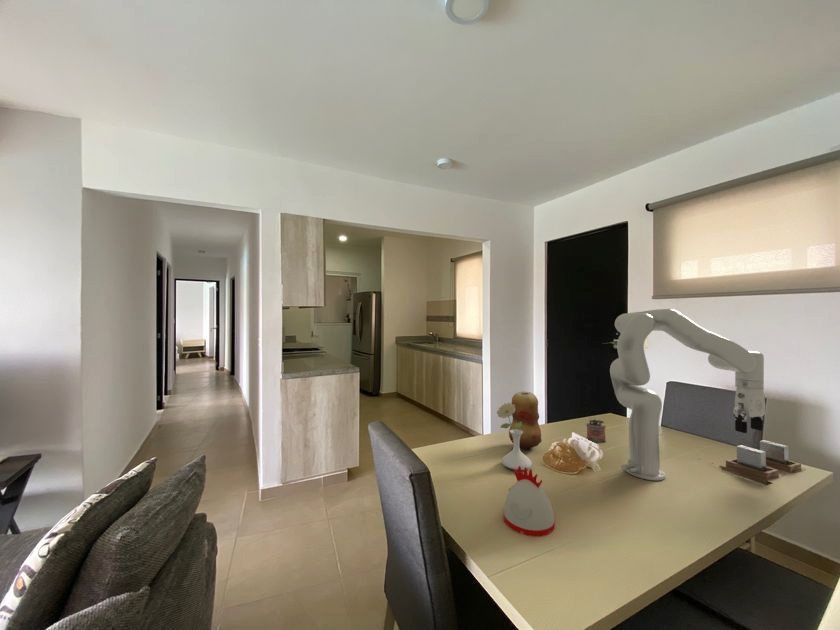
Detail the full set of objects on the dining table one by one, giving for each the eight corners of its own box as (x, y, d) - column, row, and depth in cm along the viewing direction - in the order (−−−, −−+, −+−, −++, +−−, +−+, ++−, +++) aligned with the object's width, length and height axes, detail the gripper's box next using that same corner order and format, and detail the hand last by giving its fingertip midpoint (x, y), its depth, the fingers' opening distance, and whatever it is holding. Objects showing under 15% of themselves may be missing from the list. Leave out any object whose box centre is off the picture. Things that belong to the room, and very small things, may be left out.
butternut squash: (508, 452, 145) (508, 394, 145) (509, 441, 157) (509, 388, 158) (542, 455, 141) (541, 396, 141) (540, 444, 153) (540, 390, 154)
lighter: (586, 440, 159) (586, 419, 159) (586, 438, 162) (586, 417, 162) (605, 443, 155) (605, 421, 155) (605, 440, 158) (605, 419, 158)
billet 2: (784, 468, 124) (784, 447, 124) (760, 461, 131) (759, 440, 131) (789, 467, 125) (788, 446, 125) (764, 460, 132) (764, 440, 132)
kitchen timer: (515, 502, 105) (515, 454, 105) (561, 518, 96) (560, 466, 96) (495, 523, 94) (494, 469, 94) (544, 543, 85) (543, 484, 85)
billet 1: (761, 475, 119) (760, 452, 119) (737, 467, 125) (736, 446, 126) (766, 474, 120) (765, 451, 120) (741, 466, 126) (741, 445, 127)
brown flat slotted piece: (766, 485, 115) (766, 475, 115) (721, 469, 127) (721, 460, 127) (806, 473, 124) (805, 463, 124) (760, 459, 136) (760, 451, 136)
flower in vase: (528, 461, 135) (527, 399, 136) (535, 474, 124) (534, 406, 124) (495, 460, 137) (495, 399, 137) (499, 472, 125) (499, 406, 126)
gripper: (748, 387, 117) (748, 436, 116) (775, 385, 123) (775, 431, 122) (722, 383, 124) (722, 429, 123) (749, 381, 130) (749, 425, 130)
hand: (748, 430), depth 123 cm, fingers open, 9 cm apart
